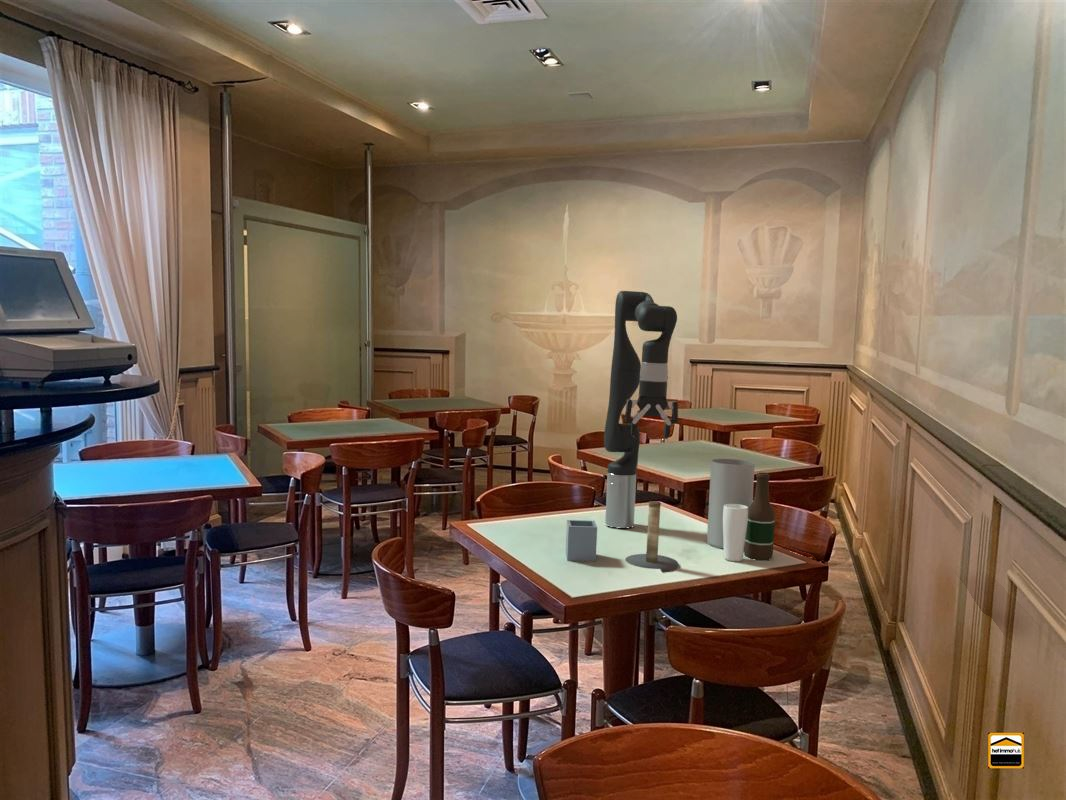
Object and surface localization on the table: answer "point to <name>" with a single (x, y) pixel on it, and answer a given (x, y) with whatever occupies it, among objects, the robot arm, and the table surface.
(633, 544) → the table surface
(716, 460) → the cylinder vase
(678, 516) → the table surface
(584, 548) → the deep cup
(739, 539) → the drinking glass
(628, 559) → the gray disc
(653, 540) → the beech dowel
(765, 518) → the beer bottle
